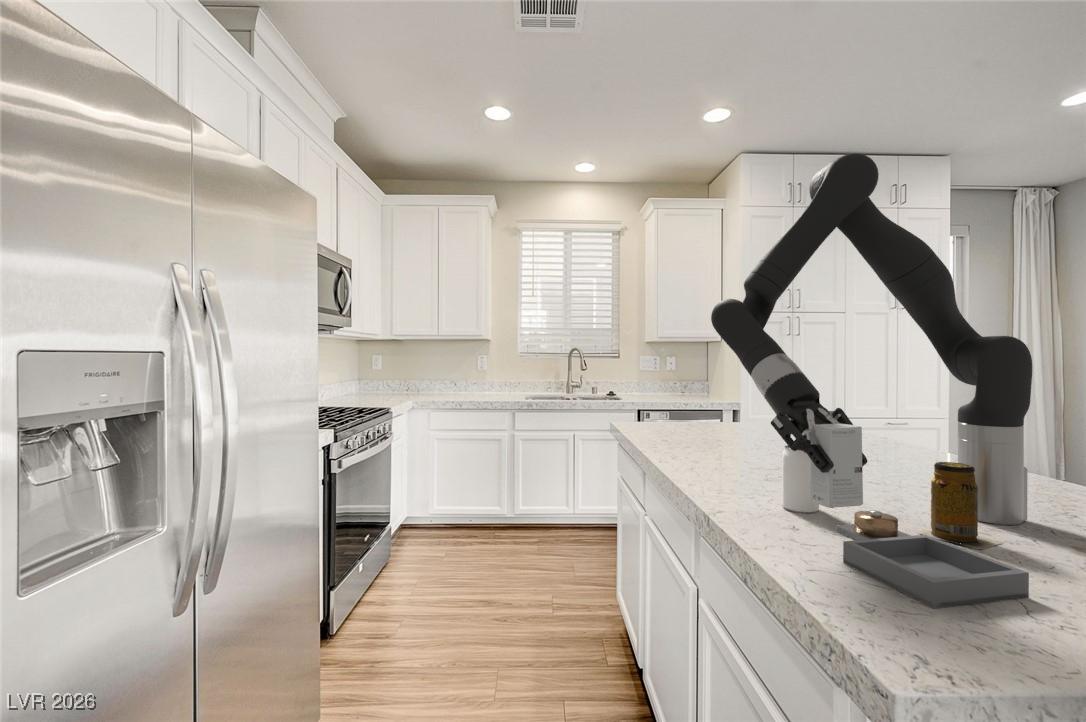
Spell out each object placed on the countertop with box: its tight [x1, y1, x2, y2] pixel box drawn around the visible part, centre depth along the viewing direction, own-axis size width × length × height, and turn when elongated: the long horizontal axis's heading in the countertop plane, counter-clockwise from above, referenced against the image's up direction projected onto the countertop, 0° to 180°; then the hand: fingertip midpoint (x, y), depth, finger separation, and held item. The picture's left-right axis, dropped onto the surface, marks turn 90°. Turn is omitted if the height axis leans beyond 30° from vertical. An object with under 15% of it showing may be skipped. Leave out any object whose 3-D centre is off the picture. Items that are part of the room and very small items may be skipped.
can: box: [781, 444, 820, 514], centre depth 102 cm, size 6×6×12 cm
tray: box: [842, 534, 1030, 609], centre depth 70 cm, size 14×14×3 cm
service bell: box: [835, 509, 912, 540], centre depth 86 cm, size 8×8×4 cm
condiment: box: [918, 461, 1003, 550], centre depth 85 cm, size 7×8×12 cm
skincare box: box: [811, 424, 864, 509], centre depth 81 cm, size 6×4×12 cm
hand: (845, 467), depth 79 cm, fingers closed on skincare box, 6 cm apart
